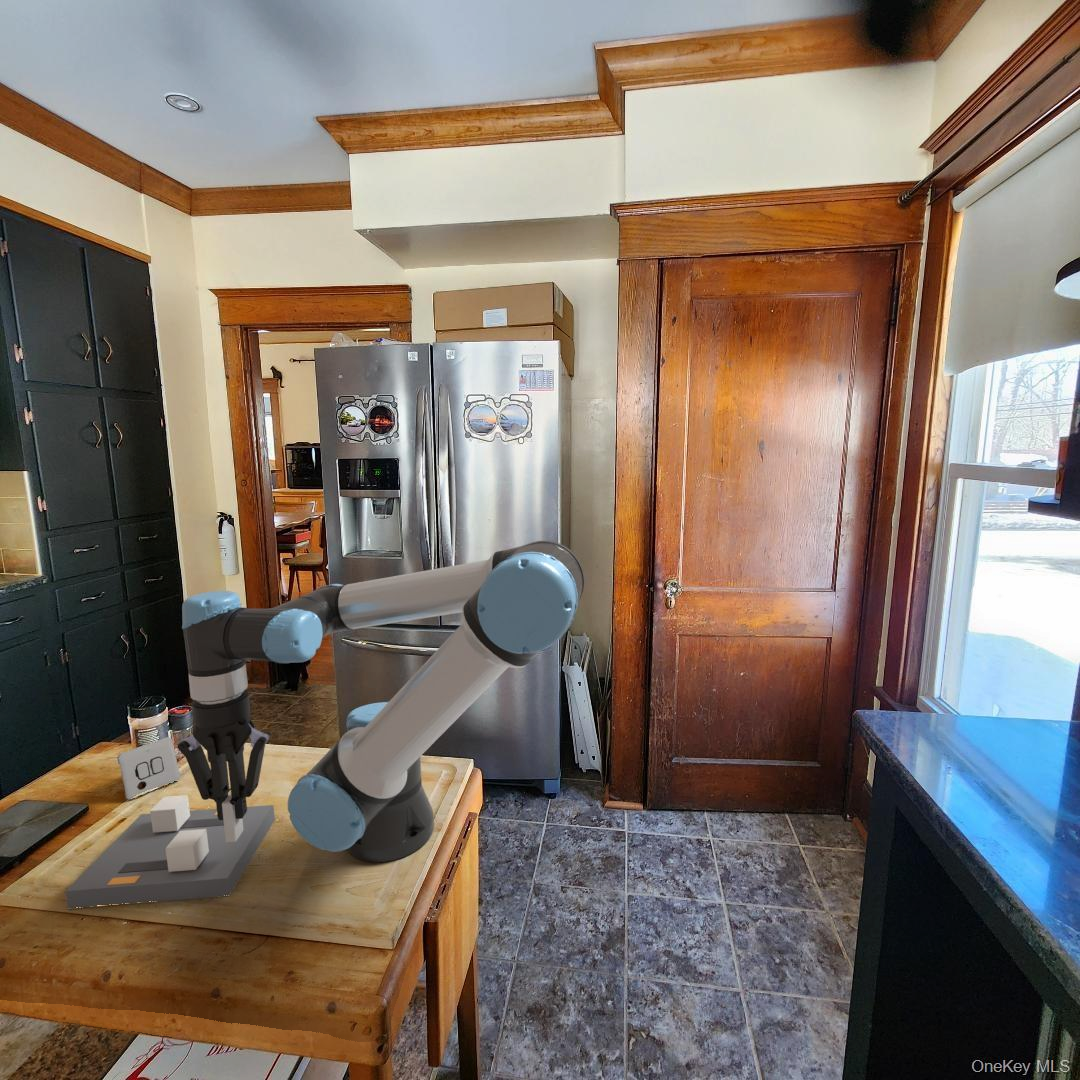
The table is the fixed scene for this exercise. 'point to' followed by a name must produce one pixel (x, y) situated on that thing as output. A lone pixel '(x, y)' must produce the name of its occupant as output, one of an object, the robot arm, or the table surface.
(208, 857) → the switch panel
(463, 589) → the robot arm
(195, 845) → the tab left
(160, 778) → the electrical switch
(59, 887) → the table surface
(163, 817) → the tab right
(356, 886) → the table surface
